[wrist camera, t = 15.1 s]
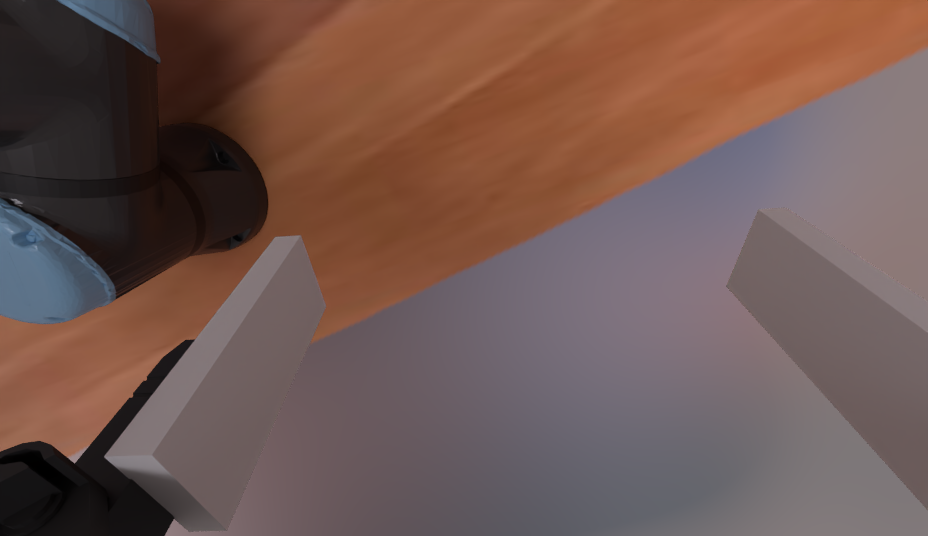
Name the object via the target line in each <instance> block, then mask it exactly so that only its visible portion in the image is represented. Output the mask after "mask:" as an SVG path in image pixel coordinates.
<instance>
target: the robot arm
mask: <svg viewBox="0 0 928 536" xmlns="http://www.w3.org/2000/svg"><path fill="white" fill-rule="evenodd" d="M160 63H161V60H160V56H159V55H158V54H157V51H156V39H155V27H154V17H153V13H152V10H151V8H150V5H149V4H148V2H147V1H146V0H0V315H2V316H5V317H8V318H11V319H14V320H18V321H22V322H28V323H36V324H55V323H61V322H66V321H69V320H72V319H74V318H77V317H79V316H81V315H83V314H85V313H87V312H89V311H91V310H93V309H95V308H97V307H102V306H106V305H107V304H110V303H111V302H113V301H114V300H115V299H117V298H119V297H120V296H122V295H124V294H126V293H127V292H129V291H131V290H132V289H134V288H136V287H138V286H139V285H141V284H143V283H144V282H146V281H148V280H150V279H151V278H153V277H155V276H156V275H158V274H160V273H162V272H163V271H165V270H167V269H168V268H170V267H172V266H174V265H175V264H177V263H179V262H180V261H182V260H184V259H186V258H187V257H189V256H195V255H202V254H210V253H218V252H224V251H228V250H231V249H234V248H236V247H238V246H240V245H242V244H243V243H245V242H247V241H248V240H250V239H251V238H253V237H254V236H255V235H256V234H257V233H258V232H259V230H260V229H261V227H262V225H263V223H264V221H265V218H266V214H267V193H266V189H265V185H264V182H263V179H262V177H261V175H260V172H259V171H258V169H257V167H256V165H255V164H254V162H253V161H252V159H251V158H250V157H249V156H248V154H247V153H246V152H245V151H244V150H243V149H242V148H241V147H240V146H239V145H238V144H237V143H236V142H234V141H233V140H232V139H230V138H229V137H228V136H226V135H224V134H223V133H221V132H219V131H217V130H215V129H213V128H210V127H207V126H204V125H200V124H194V123H180V124H172V125H165V126H161V127H159V117H158V86H157V64H160ZM727 288H728V289H729V290H730V291H731V292H732V293H733V294H734V295H735V297H736V298H737V299H738V300H739V301H740V302H741V303H742V304H743V306H744V307H745V308H746V309H747V310H748V311H749V312H750V313H751V314H752V316H754V318H755V319H756V320H757V321H758V322H759V323H760V324H761V325H762V327H763V328H765V330H766V331H767V332H768V333H769V334H770V335H771V337H772V338H773V339H774V340H775V341H776V342H777V343H778V344H779V345H780V347H781V348H782V349H783V350H784V351H785V352H786V353H787V354H788V355H789V357H790V358H791V359H792V360H793V361H794V362H795V363H796V364H797V365H798V367H799V368H800V369H801V370H802V371H803V372H804V373H805V374H806V375H807V377H808V378H809V379H810V380H811V381H812V382H813V383H814V384H815V385H816V387H817V388H818V389H819V390H820V391H821V392H822V393H823V394H824V395H825V396H826V397H827V399H828V400H829V401H830V402H831V403H832V404H833V405H834V407H835V408H836V409H837V410H838V411H839V412H840V413H841V414H842V415H843V416H844V418H845V419H846V420H847V421H848V422H849V423H850V424H851V425H852V426H853V427H854V429H855V430H856V431H857V432H858V433H859V434H860V435H861V436H862V438H863V439H864V440H865V441H866V442H867V443H868V444H869V445H870V446H871V448H872V449H873V450H874V451H875V452H876V453H877V454H878V455H879V456H880V458H881V459H882V460H883V461H884V462H885V463H886V464H887V465H888V467H889V468H890V469H891V470H892V471H893V472H894V473H895V474H896V475H897V476H898V478H899V479H900V480H901V481H902V482H903V483H904V484H905V485H906V486H907V488H908V489H909V490H910V491H911V492H912V493H913V494H914V495H915V496H916V498H917V499H918V500H919V501H920V502H921V503H922V504H923V505H924V507H926V509H927V510H928V301H927V300H925V299H924V298H922V297H921V296H919V295H918V294H916V293H915V292H913V291H912V290H910V289H909V288H907V287H906V286H904V285H903V284H901V283H900V282H898V281H896V280H895V279H894V278H892V277H890V276H889V275H887V274H886V273H884V272H883V271H881V270H880V269H878V268H877V267H875V266H874V265H872V264H871V263H869V262H868V261H866V260H865V259H863V258H862V257H860V256H859V255H857V254H856V253H854V252H853V251H851V250H849V249H848V248H846V247H845V246H843V245H842V244H840V243H839V242H837V241H836V240H834V239H833V238H831V237H830V236H828V235H827V234H825V233H824V232H822V231H821V230H819V229H818V228H816V227H815V226H813V225H812V224H810V223H809V222H807V221H806V220H804V219H803V218H801V217H800V216H798V215H797V214H795V213H793V212H792V211H790V210H789V209H787V208H774V209H759V210H758V212H757V214H756V216H755V219H754V221H753V223H752V226H751V228H750V231H749V233H748V235H747V238H746V240H745V243H744V245H743V247H742V250H741V253H740V255H739V257H738V260H737V262H736V264H735V267H734V269H733V271H732V274H731V276H730V279H729V281H728V283H727ZM325 308H326V304H325V302H324V299H323V296H322V293H321V290H320V288H319V285H318V282H317V279H316V276H315V274H314V271H313V268H312V265H311V262H310V260H309V257H308V254H307V251H306V248H305V246H304V243H303V240H302V237H301V235H299V236H282V237H275V238H274V239H273V241H272V242H271V243H270V244H269V246H268V247H267V248H266V250H265V251H264V252H263V253H262V255H261V256H260V257H259V258H258V260H257V261H256V262H255V264H254V265H253V266H252V267H251V269H250V270H249V271H248V273H247V274H246V275H245V276H244V278H243V279H242V280H241V282H240V283H239V284H238V285H237V287H236V288H235V289H234V291H233V292H232V293H231V294H230V296H229V297H228V298H227V300H226V301H225V302H224V303H223V305H222V306H221V307H220V309H219V310H218V311H217V312H216V314H215V315H214V316H213V317H212V319H211V320H210V321H209V323H208V324H207V325H206V326H205V328H204V329H203V330H202V332H201V333H200V334H199V335H198V337H197V338H196V339H195V340H185V341H184V342H182V343H181V344H180V345H178V346H177V347H176V348H175V349H173V350H172V351H171V352H169V353H168V354H167V355H165V356H164V357H163V358H162V359H161V360H160V362H159V363H158V364H157V365H156V366H155V368H154V369H153V370H152V371H151V372H150V374H149V375H148V376H147V380H146V381H143V382H142V383H141V384H140V386H139V387H138V388H137V389H136V391H135V392H134V393H133V397H132V398H129V399H128V400H127V401H126V403H125V404H124V405H123V406H122V407H121V409H120V410H119V411H118V412H117V413H116V415H115V416H114V417H113V418H112V419H111V421H110V422H109V423H108V424H107V425H106V427H105V428H104V429H103V430H102V431H101V433H100V434H99V435H98V436H97V437H96V439H95V440H94V441H93V442H92V444H91V445H90V446H89V447H88V448H87V450H86V451H85V452H84V453H83V454H82V456H81V457H80V458H79V459H78V460H77V462H76V463H75V464H74V463H73V462H72V461H70V460H69V459H68V458H67V457H66V456H64V455H63V454H62V453H61V452H59V451H58V450H57V449H56V448H54V447H53V446H52V445H50V444H47V443H44V442H41V441H36V442H29V443H22V444H19V445H17V446H14V447H11V448H9V449H6V450H4V451H1V452H0V536H165V534H166V532H167V530H168V528H169V526H170V524H171V523H172V521H173V519H175V520H176V521H177V522H179V523H180V524H181V525H182V526H183V527H184V528H185V529H187V530H188V531H189V532H193V531H227V529H228V527H229V525H230V523H231V520H232V518H233V515H234V514H235V511H236V509H237V507H238V505H239V502H240V500H241V498H242V495H243V493H244V491H245V489H246V487H247V484H248V482H249V480H250V477H251V475H252V473H253V470H254V468H255V466H256V464H257V462H258V459H259V457H260V455H261V452H262V450H263V448H264V446H265V444H266V441H267V439H268V437H269V435H270V432H271V430H272V428H273V425H274V423H275V421H276V419H277V416H278V414H279V412H280V410H281V407H282V405H283V403H284V400H285V398H286V396H287V394H288V392H289V389H290V387H291V385H292V382H293V380H294V378H295V376H296V373H297V371H298V369H299V367H300V364H301V362H302V360H303V358H304V355H305V353H306V351H307V348H308V346H309V344H310V342H311V340H312V337H313V335H314V333H315V330H316V328H317V326H318V324H319V321H320V319H321V317H322V315H323V312H324V310H325Z"/></svg>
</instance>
